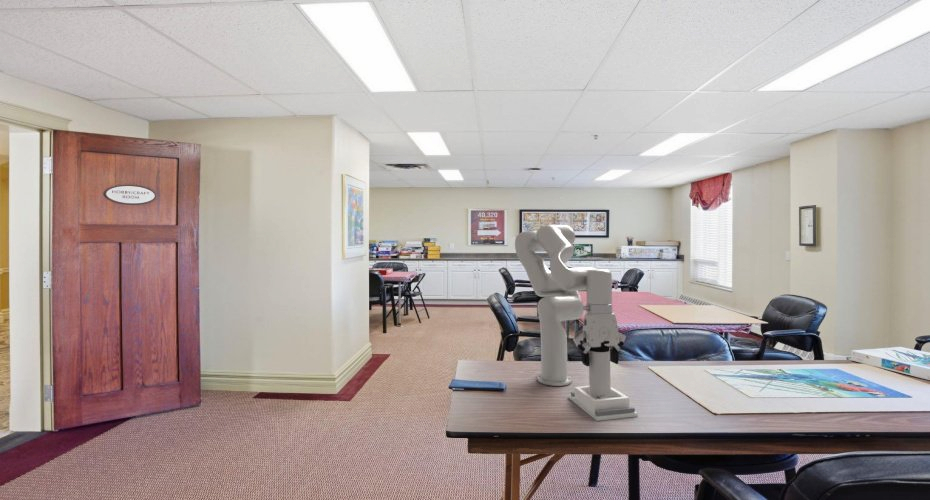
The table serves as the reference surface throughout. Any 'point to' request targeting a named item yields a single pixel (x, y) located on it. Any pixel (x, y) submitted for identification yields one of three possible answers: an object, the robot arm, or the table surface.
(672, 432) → the table surface
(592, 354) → the travel mug
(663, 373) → the table surface
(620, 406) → the white rectangular tray
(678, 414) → the table surface
